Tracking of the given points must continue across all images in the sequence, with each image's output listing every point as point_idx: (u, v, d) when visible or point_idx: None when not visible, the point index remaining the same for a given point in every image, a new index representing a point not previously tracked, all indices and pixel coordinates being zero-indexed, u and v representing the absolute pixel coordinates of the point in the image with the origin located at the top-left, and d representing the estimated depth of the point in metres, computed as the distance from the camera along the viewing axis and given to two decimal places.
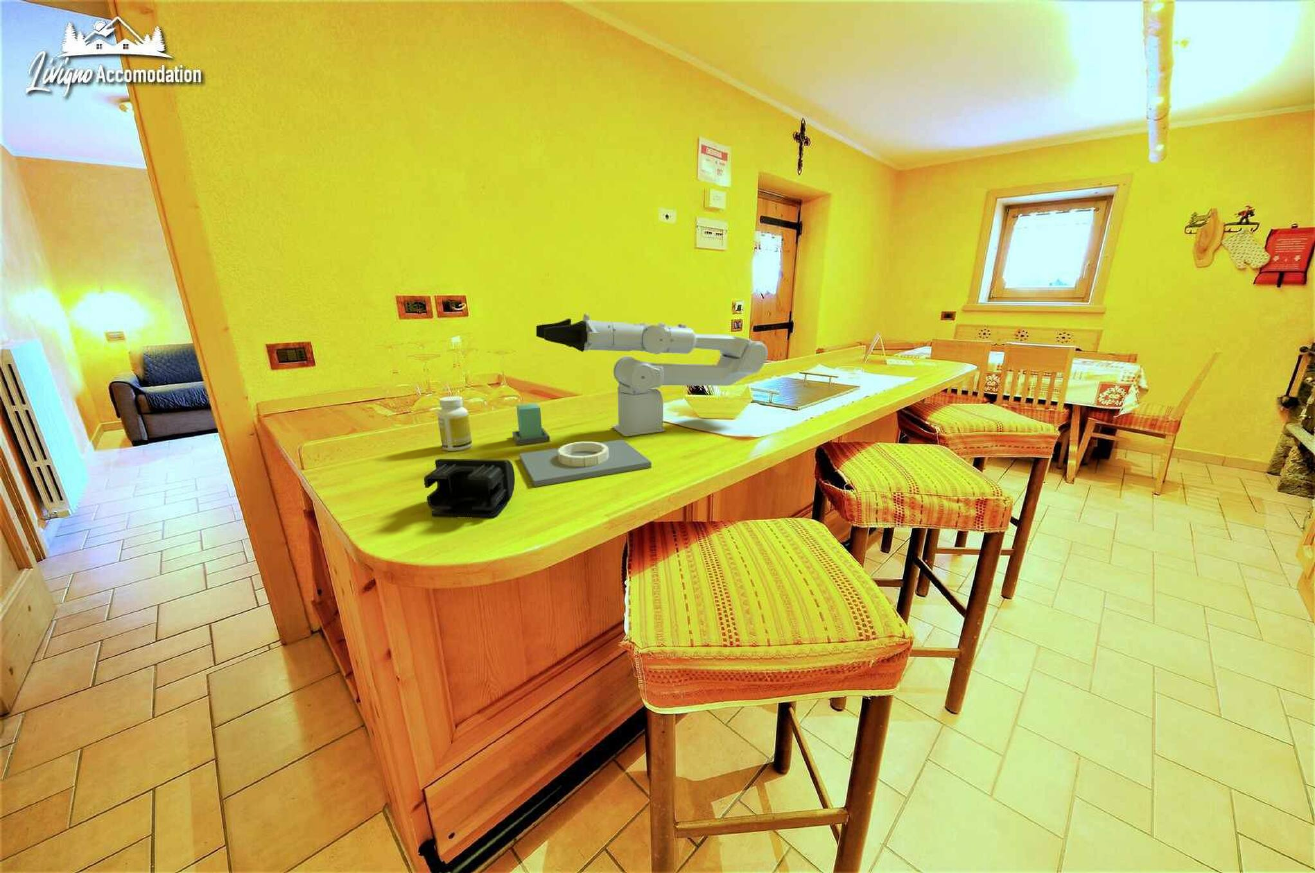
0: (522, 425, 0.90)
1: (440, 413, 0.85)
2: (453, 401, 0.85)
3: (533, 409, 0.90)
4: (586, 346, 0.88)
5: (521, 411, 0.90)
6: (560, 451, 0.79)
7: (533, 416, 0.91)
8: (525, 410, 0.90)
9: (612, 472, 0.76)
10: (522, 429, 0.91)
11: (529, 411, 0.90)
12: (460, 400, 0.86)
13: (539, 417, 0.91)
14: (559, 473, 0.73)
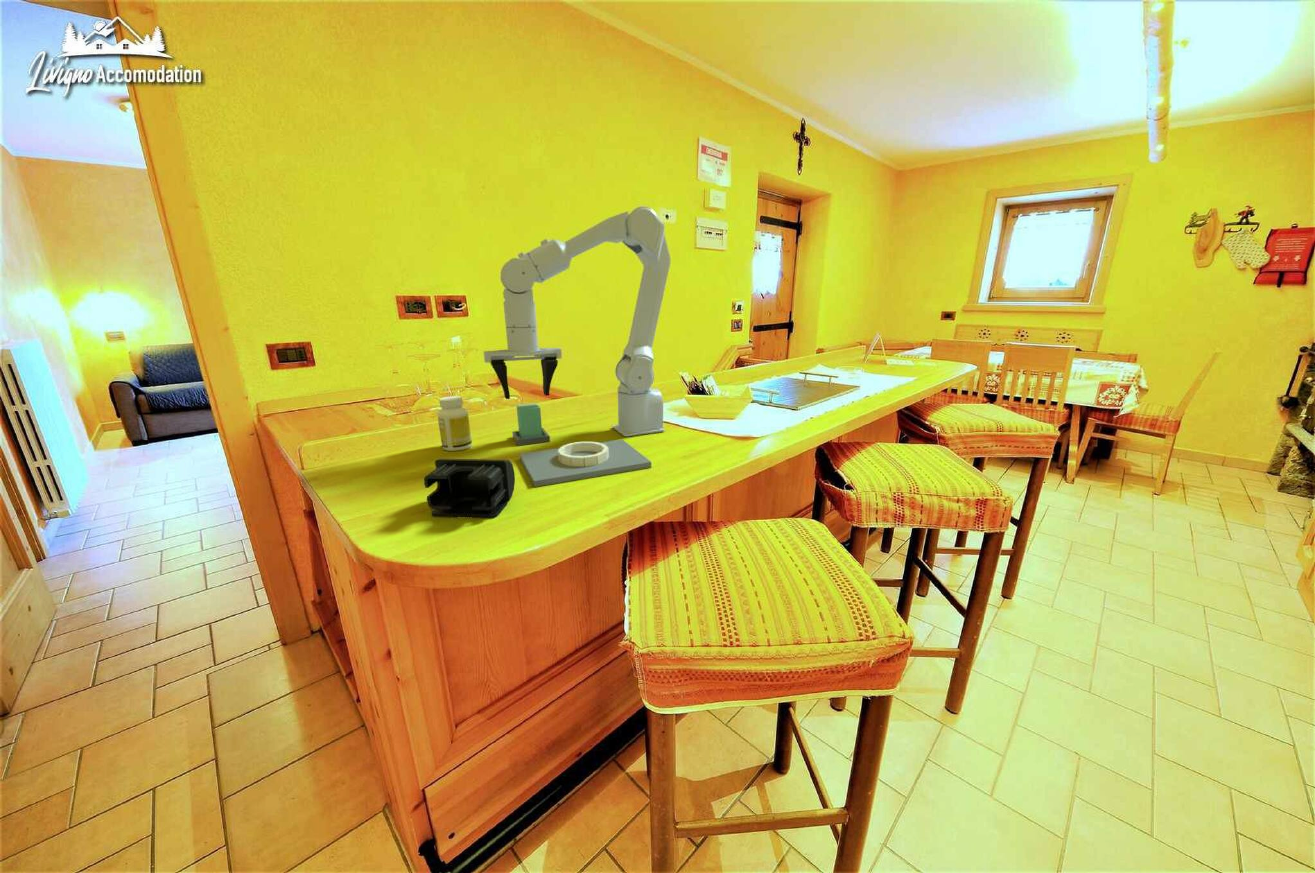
0: (522, 425, 0.90)
1: (440, 413, 0.85)
2: (453, 401, 0.85)
3: (533, 409, 0.90)
4: (513, 356, 0.86)
5: (521, 411, 0.90)
6: (560, 451, 0.79)
7: (534, 416, 0.91)
8: (525, 410, 0.90)
9: (612, 472, 0.76)
10: (522, 429, 0.91)
11: (529, 411, 0.90)
12: (460, 400, 0.86)
13: (539, 417, 0.91)
14: (559, 473, 0.73)
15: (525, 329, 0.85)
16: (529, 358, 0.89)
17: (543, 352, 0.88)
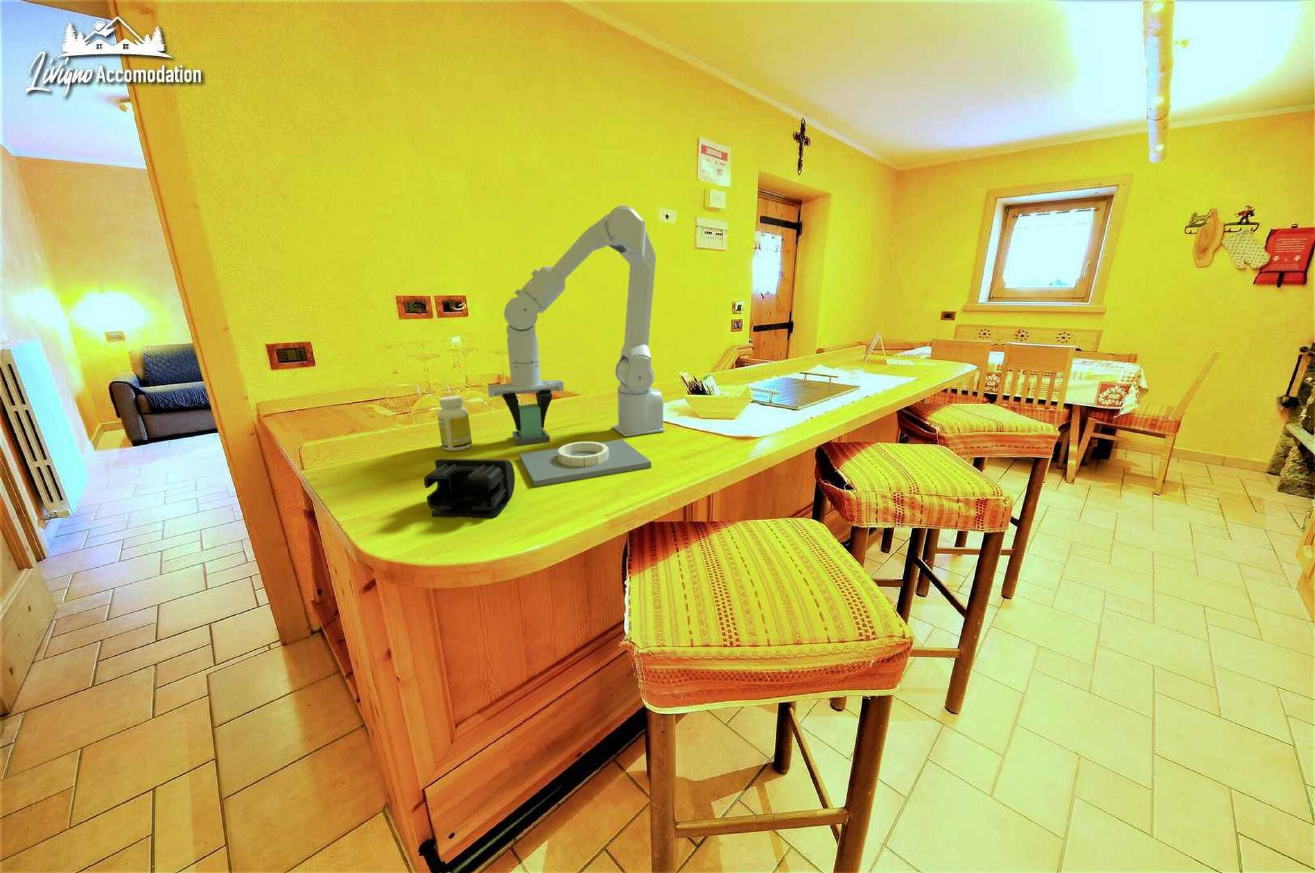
0: (522, 425, 0.90)
1: (440, 413, 0.85)
2: (453, 401, 0.85)
3: (533, 409, 0.90)
4: (516, 390, 0.88)
5: (521, 411, 0.90)
6: (560, 451, 0.79)
7: (533, 416, 0.91)
8: (525, 410, 0.90)
9: (612, 472, 0.76)
10: (522, 429, 0.91)
11: (529, 411, 0.90)
12: (460, 400, 0.86)
13: (539, 417, 0.91)
14: (559, 473, 0.73)
15: (528, 365, 0.87)
16: (532, 391, 0.91)
17: (545, 386, 0.90)
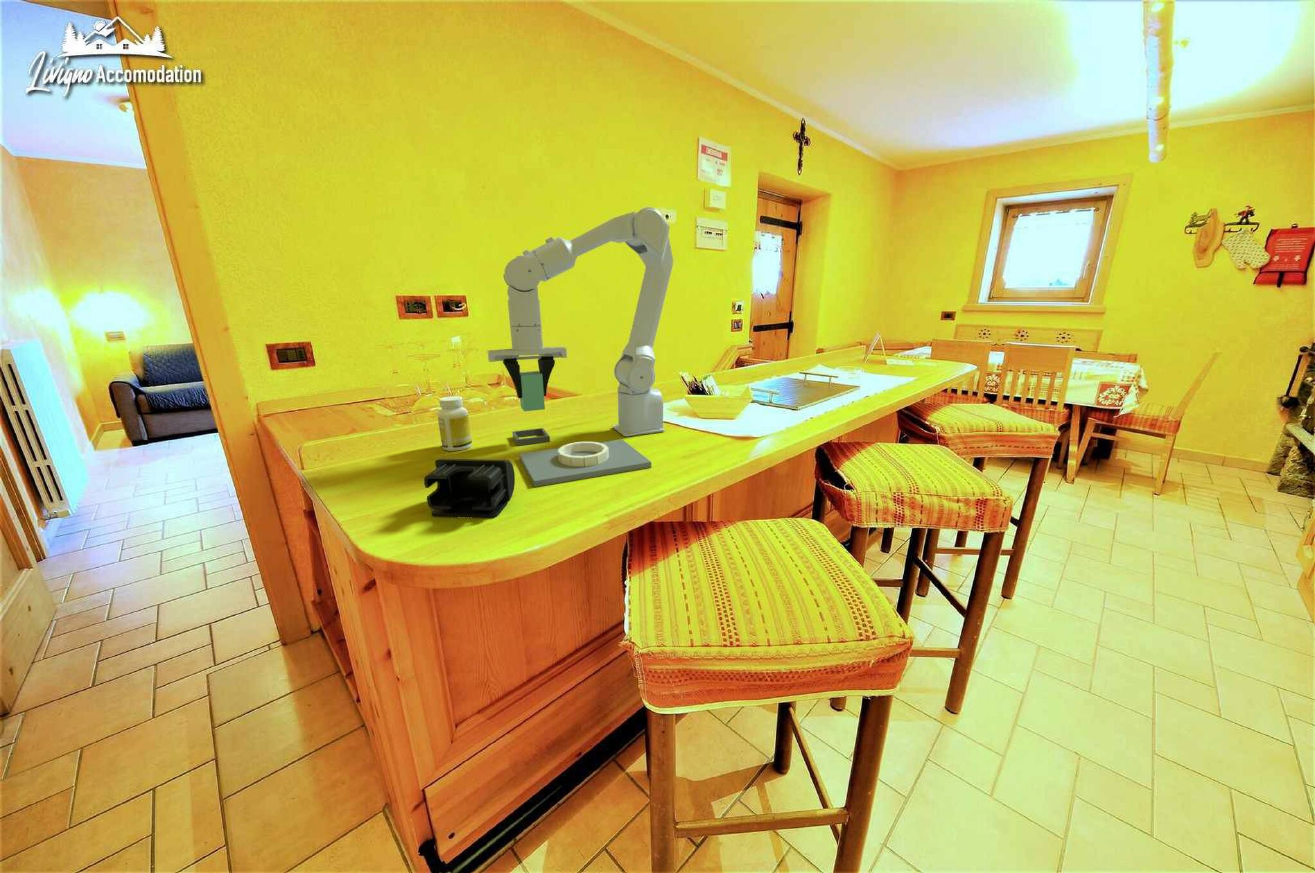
0: (523, 392, 0.87)
1: (440, 413, 0.85)
2: (453, 401, 0.85)
3: (535, 376, 0.87)
4: (517, 355, 0.85)
5: (522, 377, 0.86)
6: (560, 451, 0.79)
7: (535, 382, 0.88)
8: (527, 376, 0.87)
9: (612, 472, 0.76)
10: (523, 396, 0.87)
11: (531, 377, 0.87)
12: (460, 400, 0.86)
13: (541, 384, 0.88)
14: (559, 473, 0.73)
15: (530, 328, 0.84)
16: (534, 357, 0.88)
17: (548, 351, 0.87)
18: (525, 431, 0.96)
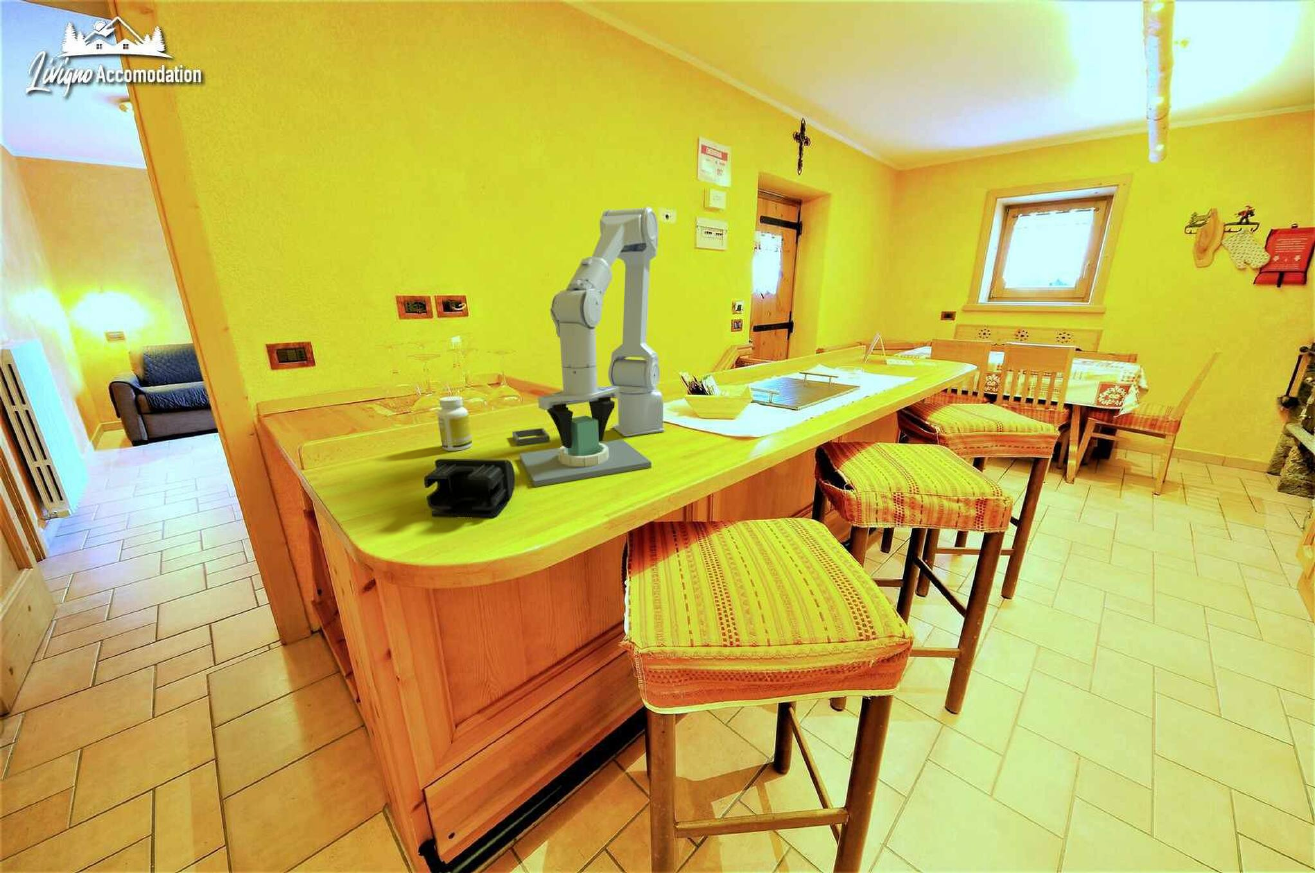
0: (579, 442, 0.77)
1: (440, 413, 0.85)
2: (453, 401, 0.85)
3: (590, 423, 0.77)
4: None
5: (579, 425, 0.76)
6: (560, 451, 0.79)
7: (591, 430, 0.78)
8: (583, 424, 0.76)
9: (612, 472, 0.76)
10: (579, 446, 0.77)
11: (587, 425, 0.77)
12: (460, 400, 0.86)
13: (596, 431, 0.79)
14: (559, 473, 0.73)
15: (589, 369, 0.74)
16: (586, 400, 0.78)
17: (604, 393, 0.78)
18: (525, 431, 0.96)
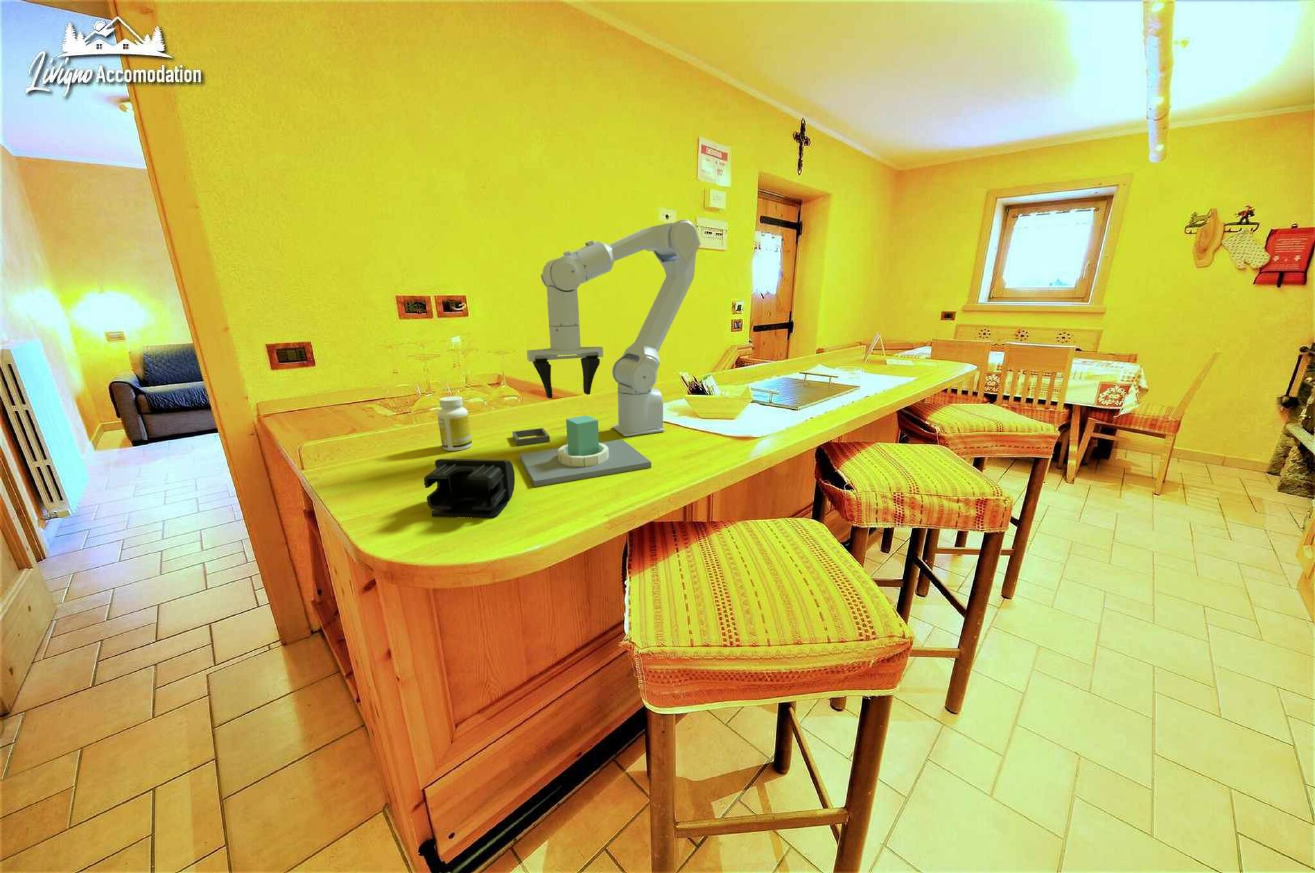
0: (579, 442, 0.77)
1: (440, 413, 0.85)
2: (453, 401, 0.85)
3: (590, 423, 0.77)
4: (557, 354, 0.85)
5: (579, 425, 0.76)
6: (560, 451, 0.79)
7: (591, 430, 0.78)
8: (583, 424, 0.76)
9: (612, 472, 0.76)
10: (579, 446, 0.77)
11: (587, 425, 0.77)
12: (460, 400, 0.86)
13: (596, 431, 0.79)
14: (559, 473, 0.73)
15: (569, 328, 0.84)
16: (571, 357, 0.88)
17: (586, 351, 0.88)
18: (525, 431, 0.96)
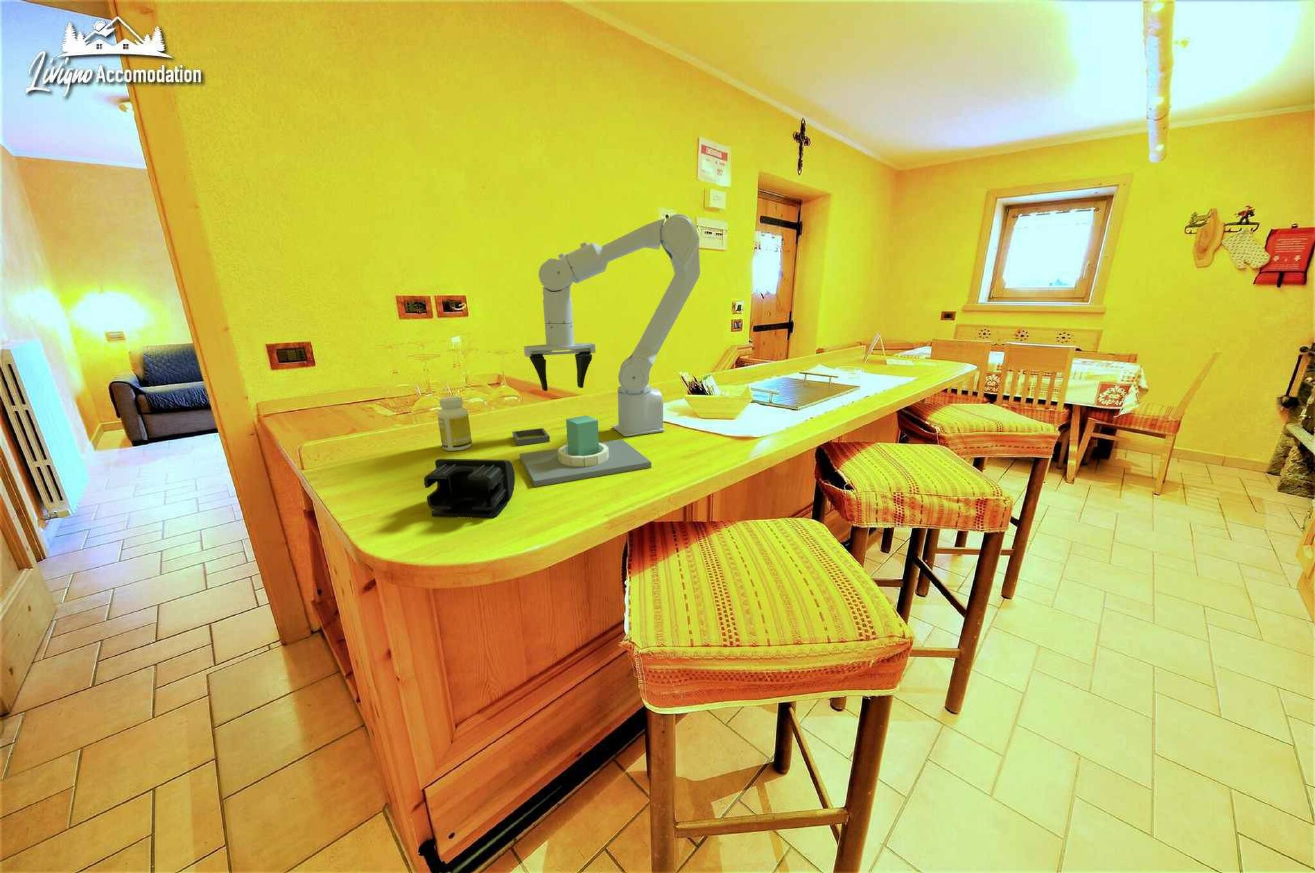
0: (579, 442, 0.77)
1: (440, 413, 0.85)
2: (453, 401, 0.85)
3: (590, 423, 0.77)
4: None
5: (579, 425, 0.76)
6: (560, 451, 0.79)
7: (591, 430, 0.78)
8: (583, 424, 0.76)
9: (612, 472, 0.76)
10: (579, 446, 0.77)
11: (587, 425, 0.77)
12: (460, 400, 0.86)
13: (596, 431, 0.79)
14: (559, 473, 0.73)
15: (563, 325, 0.91)
16: (565, 352, 0.95)
17: (579, 347, 0.94)
18: (525, 431, 0.96)
